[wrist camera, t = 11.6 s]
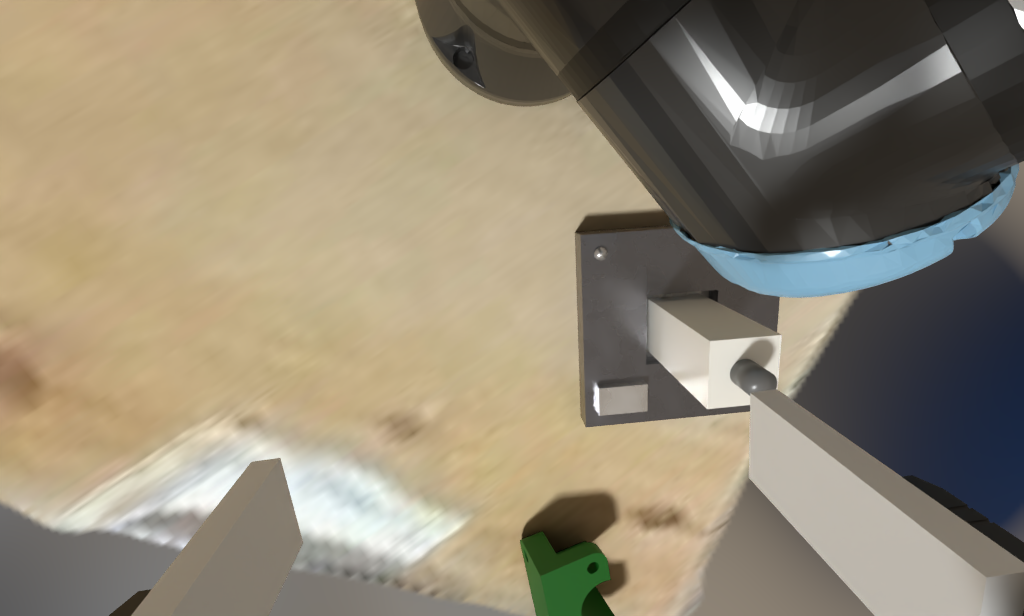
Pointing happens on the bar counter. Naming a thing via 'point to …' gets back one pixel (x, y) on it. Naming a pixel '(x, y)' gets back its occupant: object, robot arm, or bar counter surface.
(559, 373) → the bar counter surface
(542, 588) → the clamp
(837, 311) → the bar counter surface
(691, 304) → the plug
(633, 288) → the socket
